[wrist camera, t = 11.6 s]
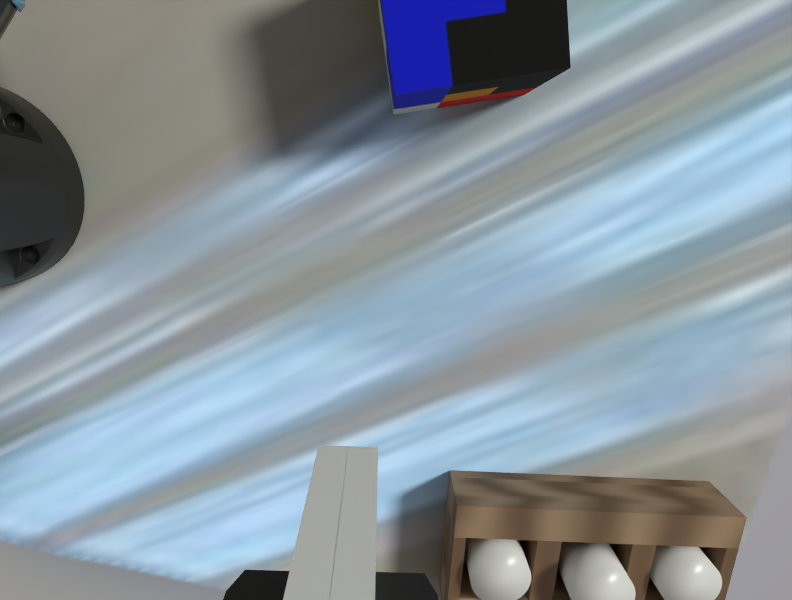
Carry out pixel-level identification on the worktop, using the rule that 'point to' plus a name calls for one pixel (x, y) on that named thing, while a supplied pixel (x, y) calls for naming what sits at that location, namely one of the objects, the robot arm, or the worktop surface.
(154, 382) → the worktop surface
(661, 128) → the worktop surface
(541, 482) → the button panel
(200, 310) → the worktop surface
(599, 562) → the middle button
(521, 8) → the puzzle toy
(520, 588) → the left button
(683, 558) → the right button
